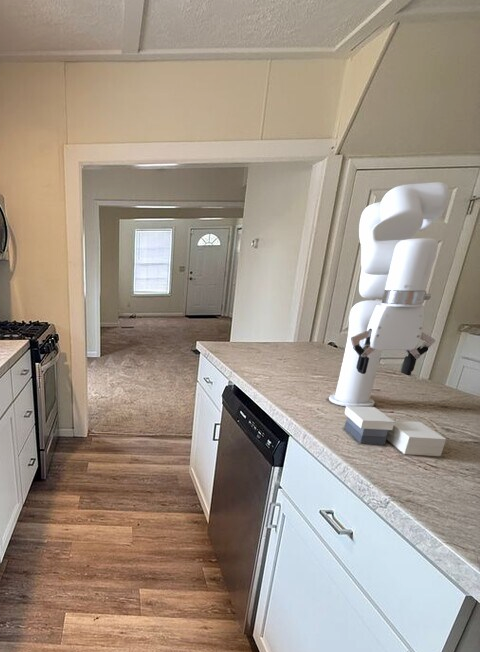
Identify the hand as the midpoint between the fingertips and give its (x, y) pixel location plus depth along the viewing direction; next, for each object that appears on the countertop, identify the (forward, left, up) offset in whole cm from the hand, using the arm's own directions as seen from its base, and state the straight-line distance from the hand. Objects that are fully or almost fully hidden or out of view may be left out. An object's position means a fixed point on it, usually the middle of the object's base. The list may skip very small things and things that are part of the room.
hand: (383, 373), depth 97 cm
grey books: (-1, 0, -17) cm, 17 cm away
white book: (-1, 0, -13) cm, 13 cm away
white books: (+4, +8, -17) cm, 19 cm away
